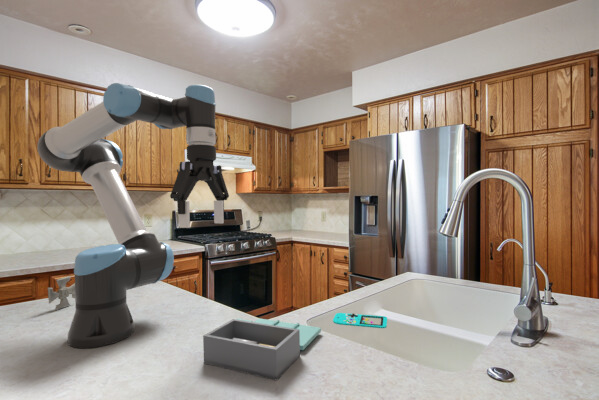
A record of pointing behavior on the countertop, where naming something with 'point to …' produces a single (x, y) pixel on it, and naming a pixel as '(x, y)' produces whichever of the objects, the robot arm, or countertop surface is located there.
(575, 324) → the countertop surface
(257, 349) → the tub
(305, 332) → the lid
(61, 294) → the cross
